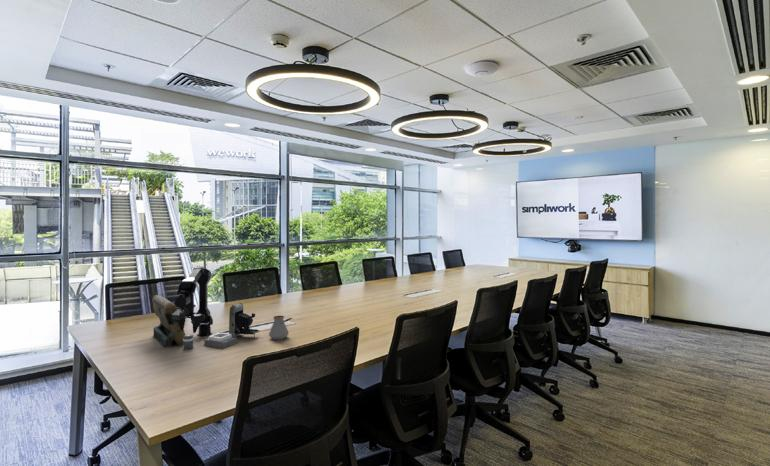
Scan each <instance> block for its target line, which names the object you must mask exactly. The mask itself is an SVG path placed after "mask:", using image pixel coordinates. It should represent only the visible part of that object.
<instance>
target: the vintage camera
mask: <svg viewBox="0 0 770 466" xmlns="http://www.w3.org/2000/svg"><path fill="white" fill-rule="evenodd" d="M255 317H256V313H254V312H253V313H251V315H250V314H247V313H244V304H243V303H242V302H238V303H237V304H235V305H233V304H232V305H231V306H230V307H229V317H228V318H229V319H228V334H232V337H233V338H237V337H239V336H240V335H241V336H242V335H251V336H252V335H253V338H254V339H255V338H256V336H255V334H256V333H258V332H260V331H261V330H259V329H255V328H254V329H253V328H250V326H251V325H252V324H253V322H254V319H253V318H255Z"/></svg>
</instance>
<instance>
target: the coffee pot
mask: <svg viewBox="0 0 770 466" xmlns="http://www.w3.org/2000/svg"><path fill="white" fill-rule="evenodd" d="M272 318H273V320H274V321H273V323H272V325H271V327H270V331H269V333H268V335H269V337H270V338H271V339H272V340H276V341H281V340H284V339H286V338H287V337H288V336H289V333H290V332H289V330H288V327H287V326H286V322H289V321H292V320H294V318H293V317H288V318H287V319H284V318H285V316H284V315H275V316H273V317H272Z"/></svg>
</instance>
